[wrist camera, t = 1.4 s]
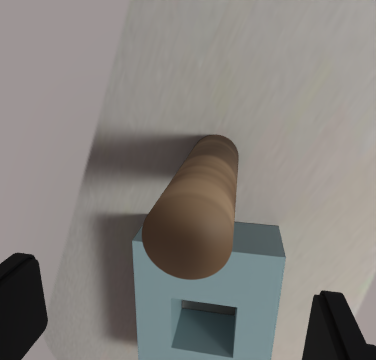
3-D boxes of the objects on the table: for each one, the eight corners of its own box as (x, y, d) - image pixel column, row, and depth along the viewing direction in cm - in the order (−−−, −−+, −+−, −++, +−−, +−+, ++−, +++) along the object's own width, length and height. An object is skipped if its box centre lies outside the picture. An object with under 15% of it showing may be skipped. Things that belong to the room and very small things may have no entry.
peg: (192, 133, 26) (139, 194, 13) (240, 135, 25) (236, 202, 12) (191, 177, 27) (143, 274, 14) (236, 181, 26) (229, 285, 13)
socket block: (150, 214, 29) (132, 240, 24) (278, 226, 27) (285, 257, 22) (153, 340, 34) (139, 382, 30) (261, 358, 32) (264, 405, 28)
